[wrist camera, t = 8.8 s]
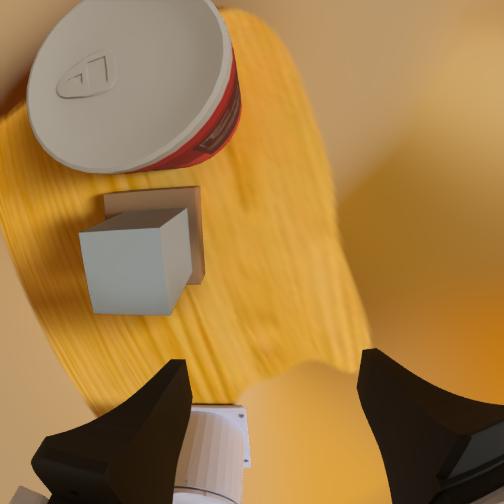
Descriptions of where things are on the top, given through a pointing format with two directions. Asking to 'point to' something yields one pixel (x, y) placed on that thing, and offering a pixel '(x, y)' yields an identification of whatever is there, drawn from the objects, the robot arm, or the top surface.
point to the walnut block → (166, 200)
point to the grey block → (137, 261)
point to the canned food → (135, 86)
